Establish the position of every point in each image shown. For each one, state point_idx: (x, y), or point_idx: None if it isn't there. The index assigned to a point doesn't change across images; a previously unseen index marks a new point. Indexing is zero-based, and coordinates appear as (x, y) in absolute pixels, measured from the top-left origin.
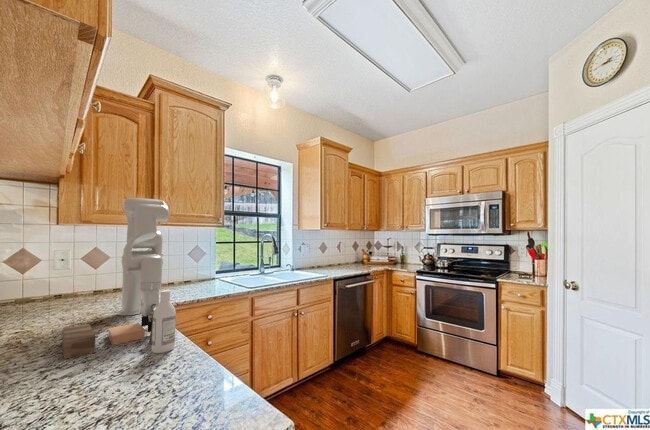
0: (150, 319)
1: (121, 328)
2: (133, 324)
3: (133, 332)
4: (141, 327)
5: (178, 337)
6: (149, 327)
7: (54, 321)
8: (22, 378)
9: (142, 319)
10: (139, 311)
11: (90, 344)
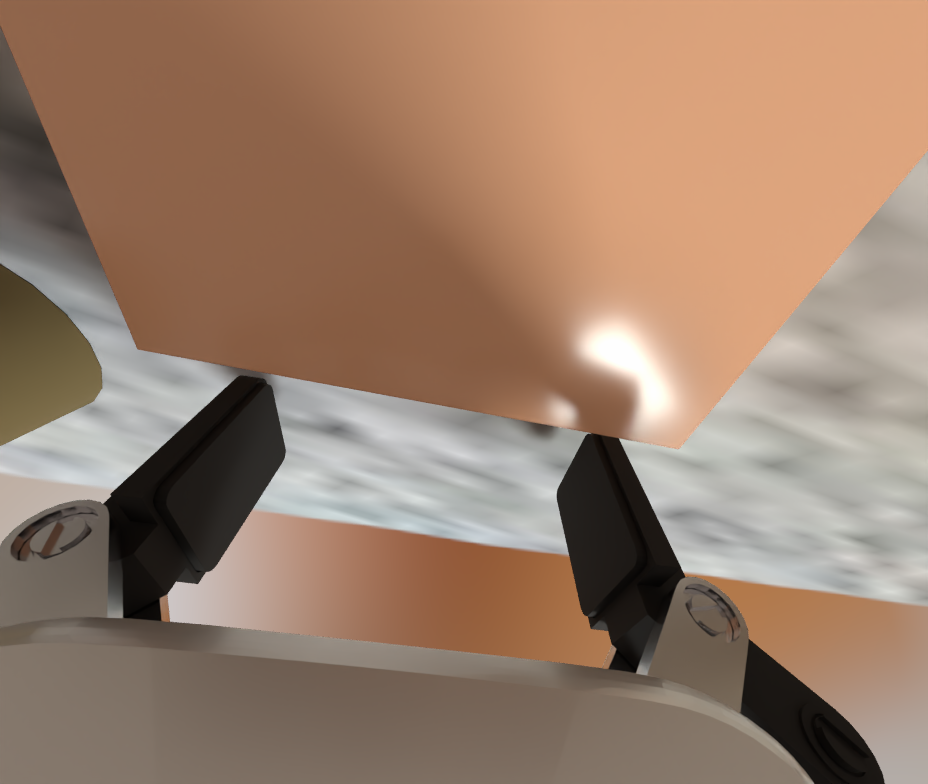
0: (10, 560)
1: (680, 5)
2: (676, 367)
3: (57, 123)
4: (331, 368)
5: (63, 468)
6: (206, 425)
7: None
8: None
9: (624, 518)
10: (757, 749)
11: None
